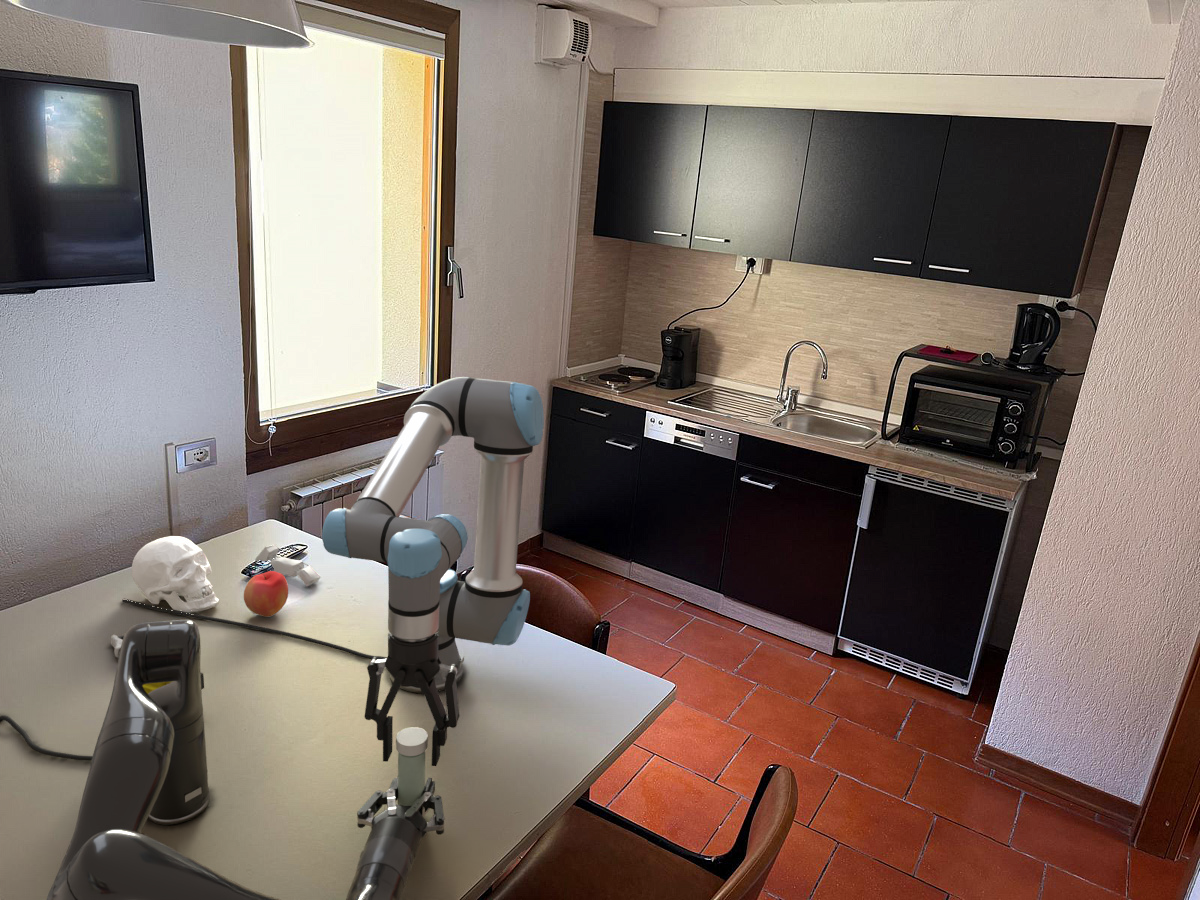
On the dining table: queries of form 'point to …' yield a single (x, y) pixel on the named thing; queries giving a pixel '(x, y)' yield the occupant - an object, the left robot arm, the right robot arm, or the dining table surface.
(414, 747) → the lid
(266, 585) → the apple
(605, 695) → the dining table surface
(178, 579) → the skull
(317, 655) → the dining table surface
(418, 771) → the pale green cylinder
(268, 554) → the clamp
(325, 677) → the dining table surface
